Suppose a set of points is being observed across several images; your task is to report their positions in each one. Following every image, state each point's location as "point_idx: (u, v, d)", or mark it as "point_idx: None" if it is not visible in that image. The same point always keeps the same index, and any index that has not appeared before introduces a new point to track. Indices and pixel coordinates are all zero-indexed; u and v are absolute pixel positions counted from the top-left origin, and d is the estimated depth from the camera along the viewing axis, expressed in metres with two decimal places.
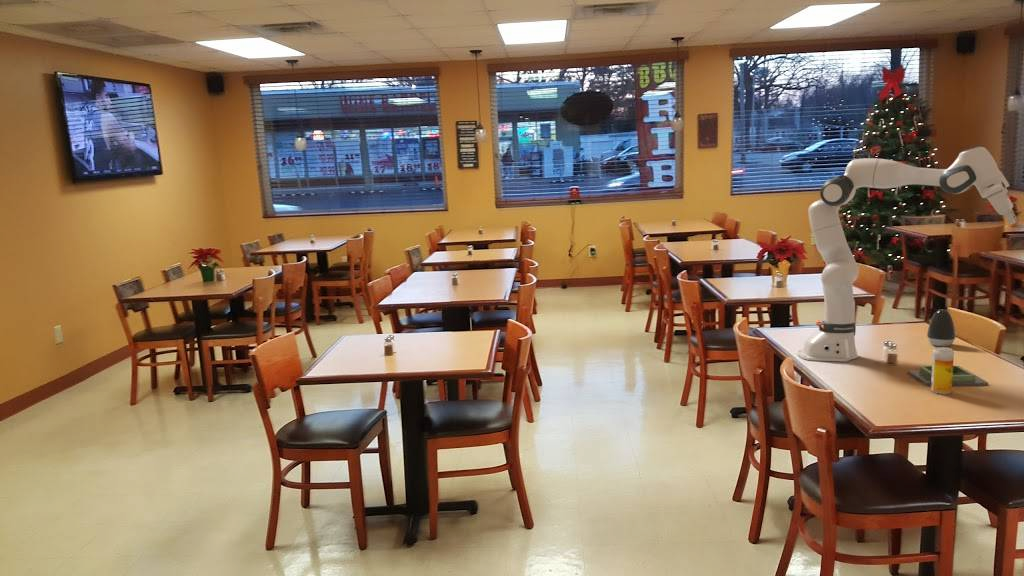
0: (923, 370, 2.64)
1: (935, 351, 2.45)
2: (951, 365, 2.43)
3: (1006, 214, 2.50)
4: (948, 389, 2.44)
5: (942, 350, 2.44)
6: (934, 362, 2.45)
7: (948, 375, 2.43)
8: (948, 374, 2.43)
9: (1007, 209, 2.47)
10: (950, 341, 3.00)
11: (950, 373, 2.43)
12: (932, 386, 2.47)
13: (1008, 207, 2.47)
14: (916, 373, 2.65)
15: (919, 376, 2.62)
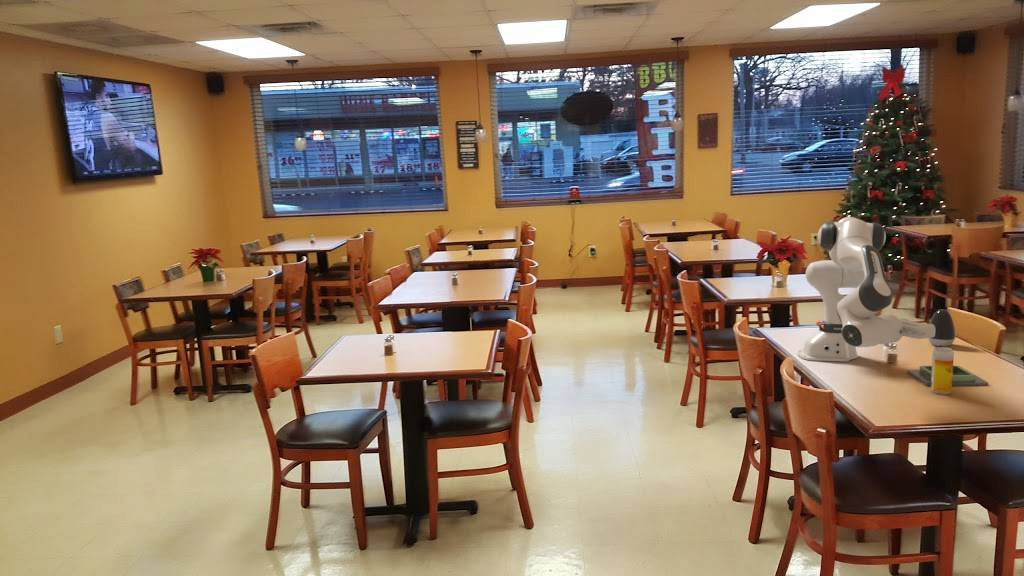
0: (923, 370, 2.64)
1: (935, 351, 2.45)
2: (951, 365, 2.43)
3: None
4: (948, 389, 2.44)
5: (942, 350, 2.44)
6: (934, 362, 2.45)
7: (948, 375, 2.43)
8: (948, 374, 2.43)
9: None
10: (950, 341, 3.00)
11: (950, 373, 2.43)
12: (932, 386, 2.47)
13: None
14: (916, 373, 2.65)
15: (919, 376, 2.62)
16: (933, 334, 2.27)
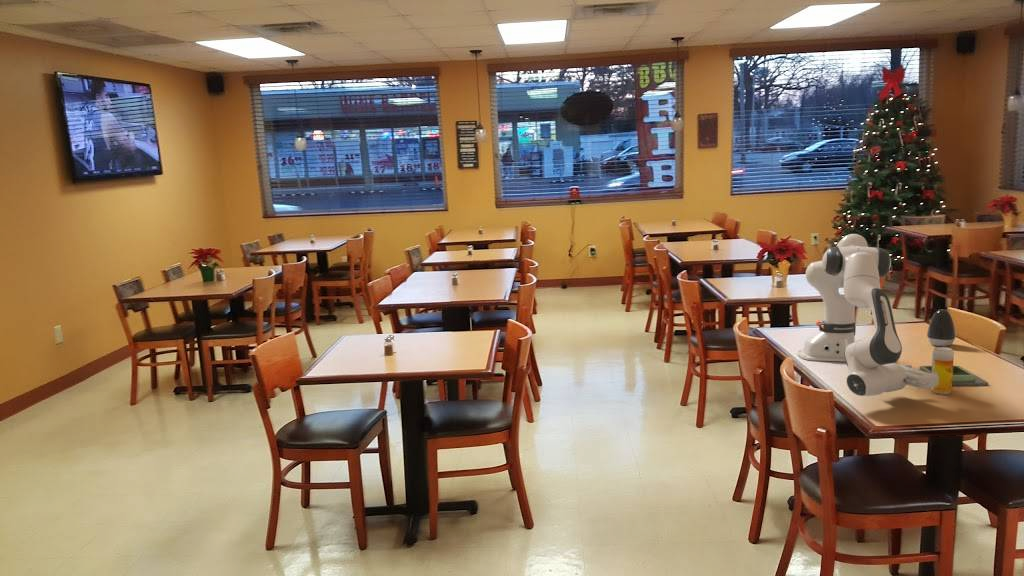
0: (923, 370, 2.64)
1: (935, 351, 2.45)
2: (951, 365, 2.43)
3: None
4: (948, 389, 2.44)
5: (942, 350, 2.44)
6: (934, 362, 2.45)
7: (948, 375, 2.43)
8: (948, 374, 2.43)
9: None
10: (950, 341, 3.00)
11: (950, 373, 2.43)
12: None
13: None
14: None
15: None
16: (936, 383, 2.31)
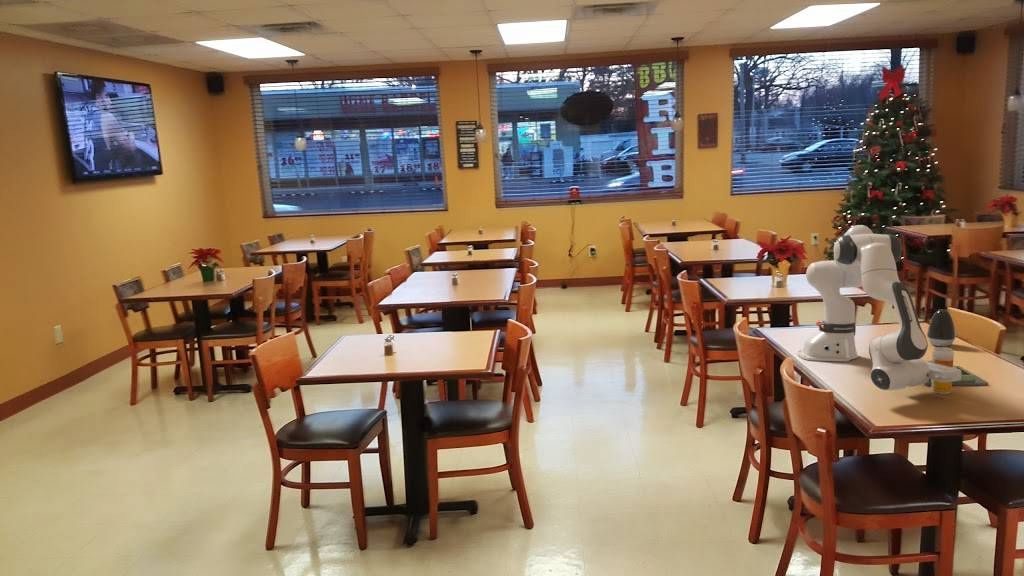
0: None
1: (935, 351, 2.45)
2: (951, 365, 2.43)
3: None
4: (948, 389, 2.44)
5: (942, 350, 2.44)
6: (934, 362, 2.45)
7: None
8: None
9: None
10: (950, 341, 3.00)
11: None
12: (932, 386, 2.47)
13: None
14: None
15: None
16: (959, 378, 2.35)
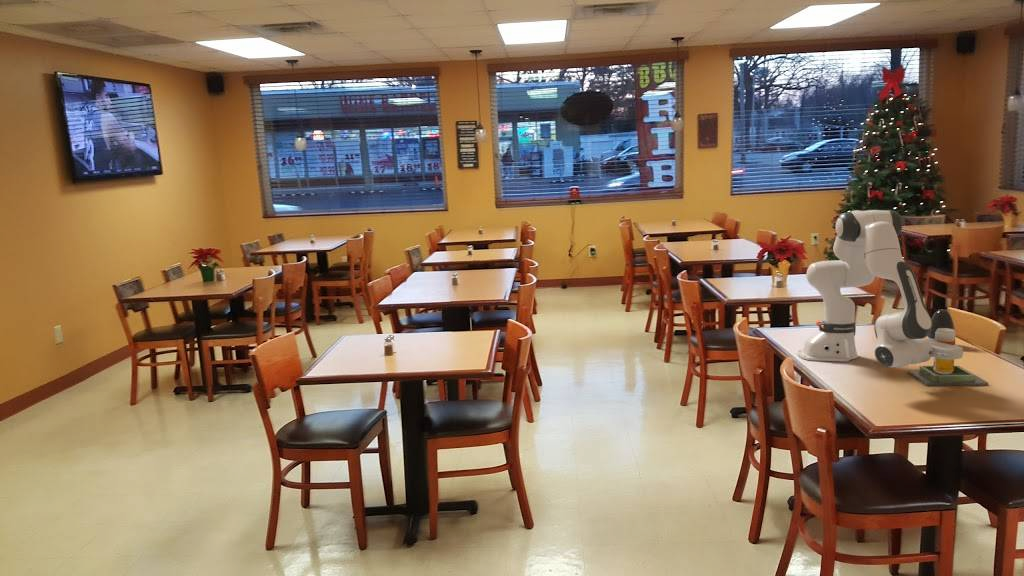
0: (923, 370, 2.64)
1: (937, 332, 2.52)
2: None
3: None
4: (950, 369, 2.51)
5: (944, 331, 2.51)
6: None
7: None
8: None
9: None
10: None
11: None
12: (934, 366, 2.54)
13: None
14: (916, 373, 2.65)
15: (919, 376, 2.62)
16: (961, 355, 2.42)
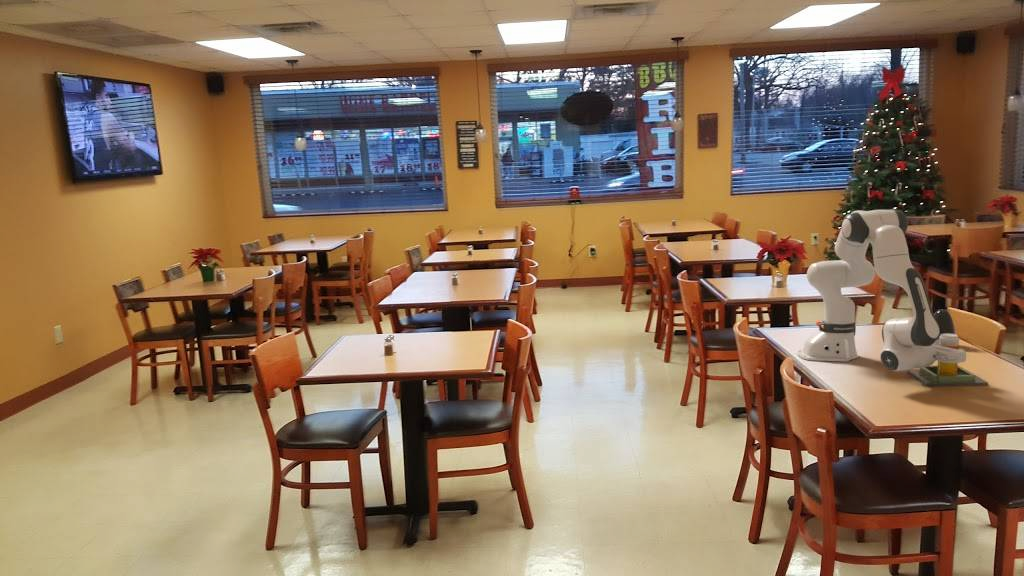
0: (923, 370, 2.64)
1: (941, 337, 2.58)
2: None
3: None
4: (953, 373, 2.57)
5: (948, 336, 2.57)
6: None
7: None
8: None
9: None
10: None
11: None
12: (938, 370, 2.60)
13: None
14: (916, 373, 2.65)
15: (919, 376, 2.62)
16: (964, 359, 2.48)
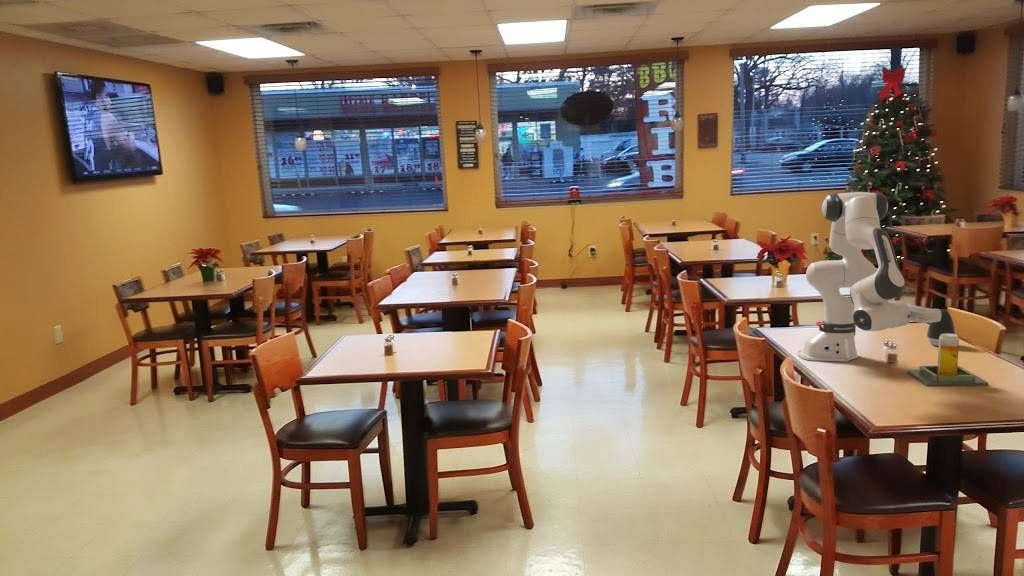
0: (923, 370, 2.64)
1: (941, 337, 2.58)
2: (956, 350, 2.56)
3: None
4: (953, 373, 2.57)
5: (948, 336, 2.57)
6: (940, 347, 2.58)
7: (953, 360, 2.57)
8: (954, 359, 2.57)
9: None
10: None
11: (956, 358, 2.57)
12: (938, 370, 2.60)
13: None
14: (916, 373, 2.65)
15: (919, 376, 2.62)
16: (939, 318, 2.41)
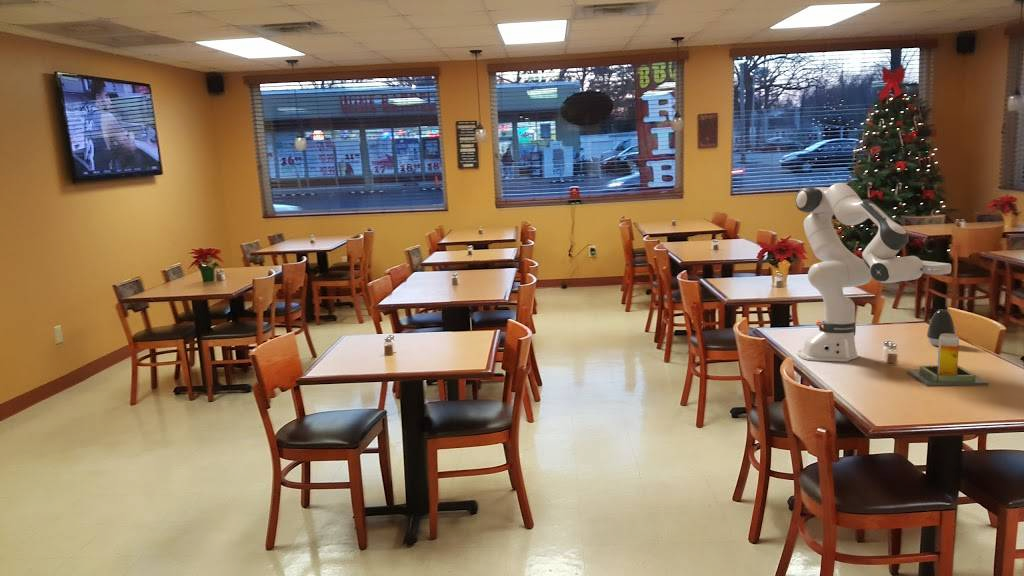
0: (923, 370, 2.64)
1: (941, 337, 2.58)
2: (956, 350, 2.56)
3: None
4: (953, 373, 2.57)
5: (948, 336, 2.57)
6: (940, 347, 2.58)
7: (953, 360, 2.57)
8: (954, 359, 2.57)
9: None
10: None
11: (956, 358, 2.57)
12: (938, 370, 2.60)
13: None
14: (916, 373, 2.65)
15: (919, 376, 2.62)
16: (949, 271, 2.64)
